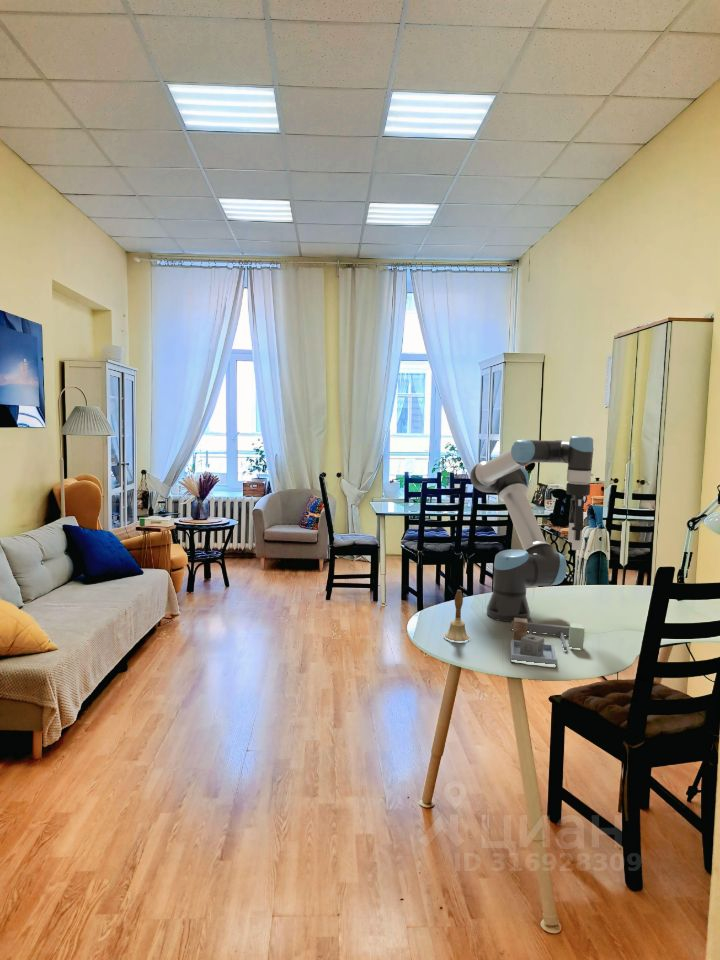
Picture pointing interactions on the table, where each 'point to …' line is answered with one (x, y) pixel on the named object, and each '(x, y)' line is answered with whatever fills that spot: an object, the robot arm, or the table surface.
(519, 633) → the walnut block
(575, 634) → the sage block
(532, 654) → the dice cube
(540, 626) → the grey bar frame
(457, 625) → the hand bell
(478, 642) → the table surface
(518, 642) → the slate tray
